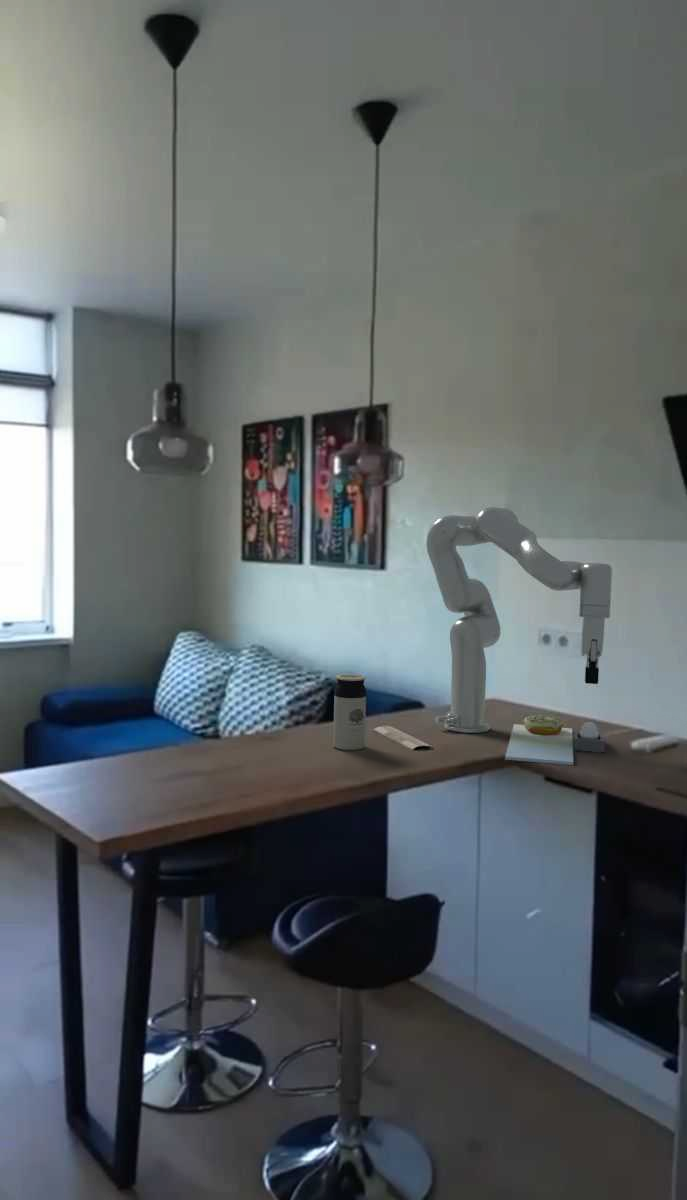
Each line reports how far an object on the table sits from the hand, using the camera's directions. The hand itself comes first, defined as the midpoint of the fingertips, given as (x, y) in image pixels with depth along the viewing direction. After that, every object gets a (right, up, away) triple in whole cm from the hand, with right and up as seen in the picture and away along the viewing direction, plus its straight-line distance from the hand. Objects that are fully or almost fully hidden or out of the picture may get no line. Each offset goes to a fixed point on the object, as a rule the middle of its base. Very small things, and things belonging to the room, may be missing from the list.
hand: (591, 682), depth 230 cm
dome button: (0, -15, +1) cm, 15 cm away
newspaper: (-49, -16, +6) cm, 52 cm away
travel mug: (-62, -16, -4) cm, 65 cm away
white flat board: (-12, -17, +4) cm, 21 cm away
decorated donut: (-9, -15, +16) cm, 24 cm away
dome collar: (0, -17, +1) cm, 17 cm away
